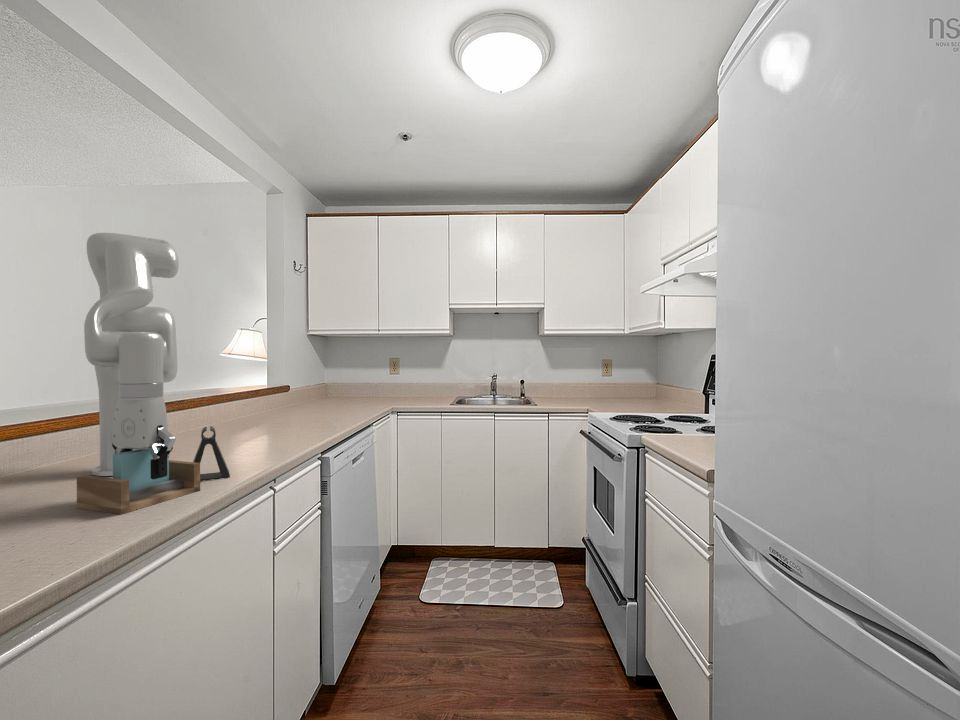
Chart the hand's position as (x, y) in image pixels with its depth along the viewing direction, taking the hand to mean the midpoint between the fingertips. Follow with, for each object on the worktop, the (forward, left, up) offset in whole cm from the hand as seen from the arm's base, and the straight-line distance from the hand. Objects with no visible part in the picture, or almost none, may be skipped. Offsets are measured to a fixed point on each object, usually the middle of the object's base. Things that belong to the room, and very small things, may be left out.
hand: (142, 475), depth 100 cm
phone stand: (-18, -2, -5) cm, 19 cm away
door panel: (0, 0, -4) cm, 4 cm away
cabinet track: (0, 0, -5) cm, 5 cm away
